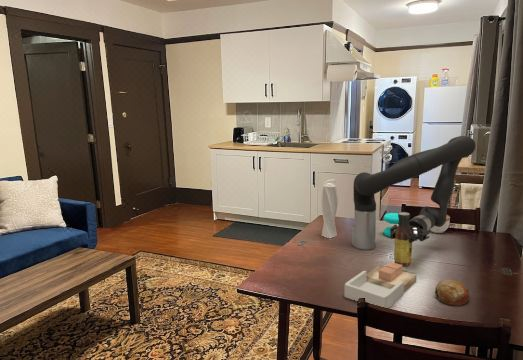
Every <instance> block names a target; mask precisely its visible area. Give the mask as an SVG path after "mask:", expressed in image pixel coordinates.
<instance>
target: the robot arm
mask: <svg viewBox="0 0 523 360" xmlns="http://www.w3.org/2000/svg"><path fill="white" fill-rule="evenodd" d="M476 146H477V145H476V141H475V140H474V138H471V137H470V136H466V135H460V136H459V135H458V136H456V137H453V138H450V140H449V141H448V142H446V143H445V144H442V145H441V146H437V147H434V148H431V149H426V150H424V151H420V152H416V153H414V154H411V155H409V156H406V157H403V158H401V159H400V160H398V161H396V162H395V163H394V164H392V165H391V166H389V167H388V168H386V169H384V170H382V171H379V172H376V173H372V174H371V173H369V172H364V171H363V172H360V173H358V174H357V175H356V176H355V178H354V180H353V203H354V205H353V206H354V221H353V222H354V223H353V225H352V227H351V228H352V229H351V230H352V231H351V232H352V235H351V240H352V241H351V245H353V247H354V248H356V249H359V250H366V251H367V250H368V251H369V250H373V249H375V248H376V229H377V227H376V226H377V203H376V200H375V199H376V198H375V195H376V194H378V193H379V192H382V191H383V190H385V189H387V188H389V187H391V186H393V185H396V184H399V183H403V182H406V181H407V180H410V179H412V178H415V177H416V178H417V177H419V176H421V175H424V174H425V173H426V174H427V173H428V172H430V171H433V170H435V169H436V168H438V167H440V166H441V169H440V172H439V174H438V178H437V180H436V183H435V185H434V188H433V191H432V194H431V195H430V200H431V202H433V203H435V204H436V205H438V206H439V209H437V208H435V207H432V206H428V205H426V206H423V207H422V208H421V210H420V212H419V214H418V215H417V216H414V217H413V218H411V219H409V226H410V229H411V232H412V236H410V237H409V243H412V244H413V243H414V242H416V241H417V242H418V241H419V242H424V241H426V240H428V239H429V238H430V232H431V231H430V229H431V228H432V227H433V226H437V227H441V226H443V225H444V224H445V222H446V217H447V215H448V214H447V211H448V205H449V201H450V198H451V196H452V193H453V191H454V187H455V183H456V173H457V170H458V167H459V164H460V163H461V161H462V160H463V159H464V158H468V157H470V156H471V155H472V154H473V153H474V151H475V150H476ZM392 226H393V227H392V228H390V237H389V238H390V239H391V240H395V230H396V228H397V227H398V224H393V225H392Z"/></svg>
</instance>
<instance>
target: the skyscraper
mask: <svg viewBox="0 0 523 360" xmlns="http://www.w3.org/2000/svg"><path fill="white" fill-rule="evenodd" d="M330 181H333V183H332V182H330ZM336 181H337V180H336V179H335V178H334V179H332V178H331V179H327V180H326V181H324V182H323V184H322V189H321V190H322V192H321V213H322V218H323V226H322V231H321V237H322V236H324V237H327V238H332V237H335V236H337V237H338V233H337V229H336V223H335V219H336V215H337V211H338V193H337V185H335V184H336ZM327 182H328V183H327ZM335 238H336V237H335Z"/></svg>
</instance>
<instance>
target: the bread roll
mask: <svg viewBox="0 0 523 360" xmlns="http://www.w3.org/2000/svg"><path fill="white" fill-rule="evenodd" d="M434 298H436V299H437V300H438V301H440V302H441V303H443V304H446V305H448V306H462V305H465V304H467V303H468V302H469V299H470V294H469V289H467V288H466V286H465V285H464V284H463V283H461V282H460V281H457V280H452V279H442V280H440V281H439V282H438V283H437V285H436V287H435V289H434Z"/></svg>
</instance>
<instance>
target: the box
mask: <svg viewBox="0 0 523 360" xmlns="http://www.w3.org/2000/svg"><path fill="white" fill-rule="evenodd" d="M367 274H368V271H367V270H363V271H361V272H360V273H358V274H356V275H355V276H354V277H352V278H351V279H350V280H348V281H346V282H345V284H344V289H343V290H344V293H343V294H344V295H343V297H344V298H346V299H348V300H352V301H354V300H355V302H357V301H358V299H359V298H365V300H366V302H368V303H370V304H374V305H378V306H381V307H385V308H388V309H389V308H390V307H391V306H392V305H393V304H395V303H396V301H398V300H399V299H400V298H401V297H402V296H403V295H404V293H403V290H404V282H402V281H400V282H399V283H397V284H396V285H395V286H394V287H393V288H391V289H390V288H386V287H383V286H380V285H377V284H373V283H370V282H367Z"/></svg>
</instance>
